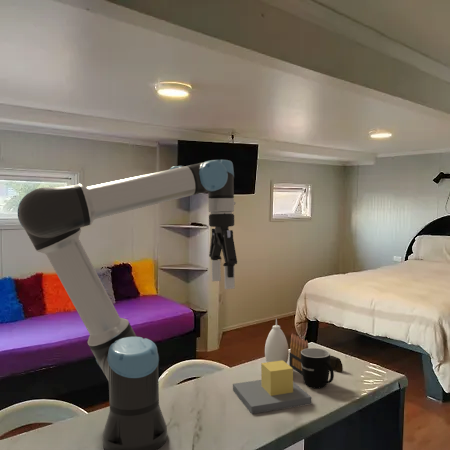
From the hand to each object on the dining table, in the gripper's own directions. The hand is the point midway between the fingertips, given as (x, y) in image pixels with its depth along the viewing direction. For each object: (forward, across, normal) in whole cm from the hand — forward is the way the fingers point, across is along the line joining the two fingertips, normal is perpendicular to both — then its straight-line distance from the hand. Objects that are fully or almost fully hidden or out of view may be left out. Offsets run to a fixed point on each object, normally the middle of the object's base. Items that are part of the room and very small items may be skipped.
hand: (222, 284), depth 128 cm
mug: (+33, -5, -29) cm, 44 cm away
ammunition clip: (+33, +8, -29) cm, 45 cm away
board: (+33, -7, -12) cm, 36 cm away
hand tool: (+33, +11, -39) cm, 53 cm away
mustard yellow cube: (+31, -7, -14) cm, 35 cm away
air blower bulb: (+33, +11, -22) cm, 41 cm away
